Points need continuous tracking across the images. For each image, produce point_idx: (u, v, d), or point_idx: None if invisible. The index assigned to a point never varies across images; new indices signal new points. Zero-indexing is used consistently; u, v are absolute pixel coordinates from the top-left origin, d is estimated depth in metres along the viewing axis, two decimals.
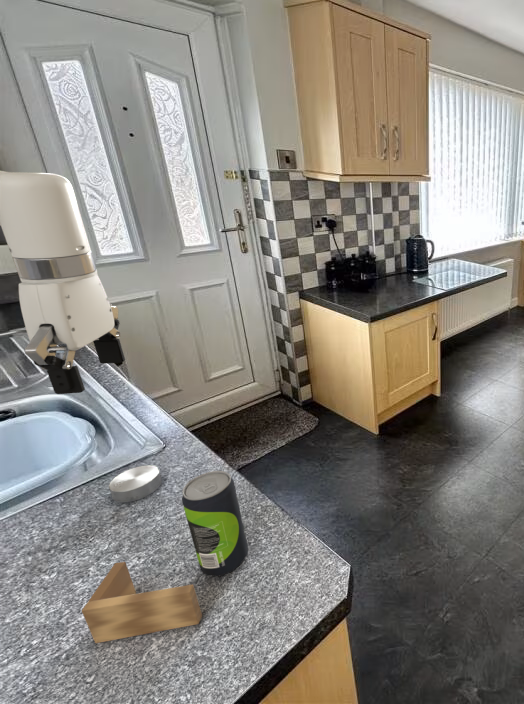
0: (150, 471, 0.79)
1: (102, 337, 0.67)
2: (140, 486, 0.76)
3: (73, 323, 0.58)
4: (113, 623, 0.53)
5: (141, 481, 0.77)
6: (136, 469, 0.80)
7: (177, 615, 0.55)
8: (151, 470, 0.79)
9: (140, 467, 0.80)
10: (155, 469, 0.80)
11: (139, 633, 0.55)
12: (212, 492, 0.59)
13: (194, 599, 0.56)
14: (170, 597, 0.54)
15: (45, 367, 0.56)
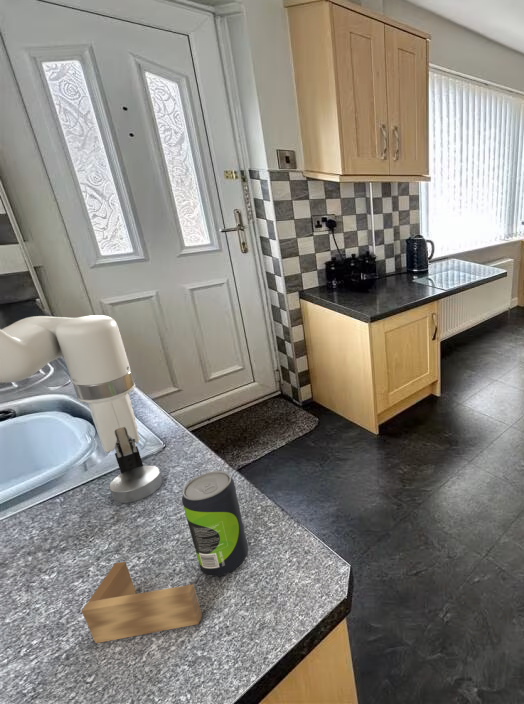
0: (150, 471, 0.79)
1: None
2: (140, 486, 0.76)
3: (135, 422, 0.76)
4: (113, 623, 0.53)
5: (141, 482, 0.76)
6: (137, 469, 0.79)
7: (177, 615, 0.55)
8: (151, 470, 0.79)
9: (140, 467, 0.80)
10: (155, 469, 0.80)
11: (139, 633, 0.55)
12: (212, 492, 0.59)
13: (194, 599, 0.56)
14: (170, 597, 0.54)
15: (124, 454, 0.77)
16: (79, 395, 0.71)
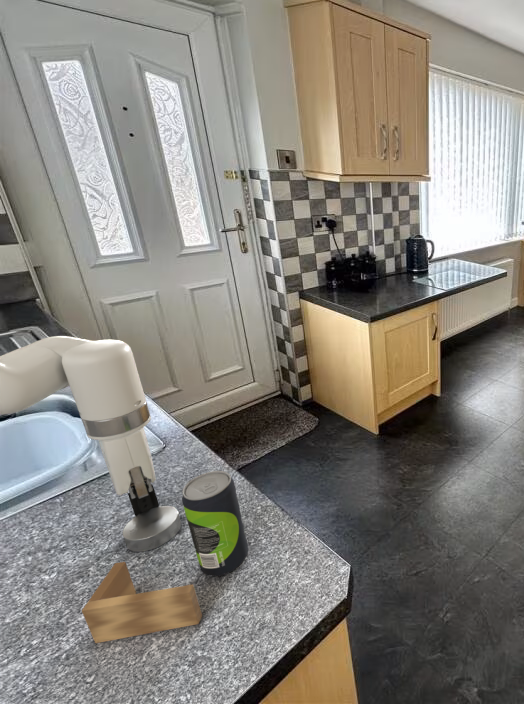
0: (168, 513, 0.70)
1: None
2: (158, 532, 0.67)
3: (151, 459, 0.67)
4: (113, 623, 0.53)
5: (159, 527, 0.68)
6: (152, 510, 0.71)
7: (177, 615, 0.55)
8: (169, 512, 0.70)
9: (157, 508, 0.71)
10: (174, 511, 0.71)
11: (139, 633, 0.55)
12: (212, 492, 0.59)
13: (194, 599, 0.56)
14: (170, 597, 0.54)
15: None
16: (88, 431, 0.62)
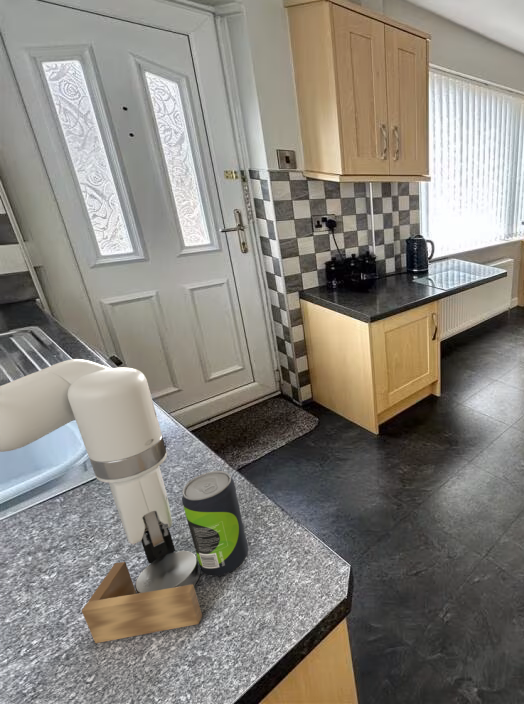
0: (186, 560, 0.62)
1: None
2: (175, 584, 0.59)
3: (168, 502, 0.59)
4: (113, 623, 0.53)
5: (176, 577, 0.60)
6: (168, 557, 0.63)
7: (177, 615, 0.55)
8: (187, 559, 0.63)
9: (173, 554, 0.63)
10: (192, 557, 0.63)
11: (139, 633, 0.55)
12: (212, 492, 0.59)
13: (194, 599, 0.56)
14: (170, 597, 0.54)
15: None
16: (97, 473, 0.55)
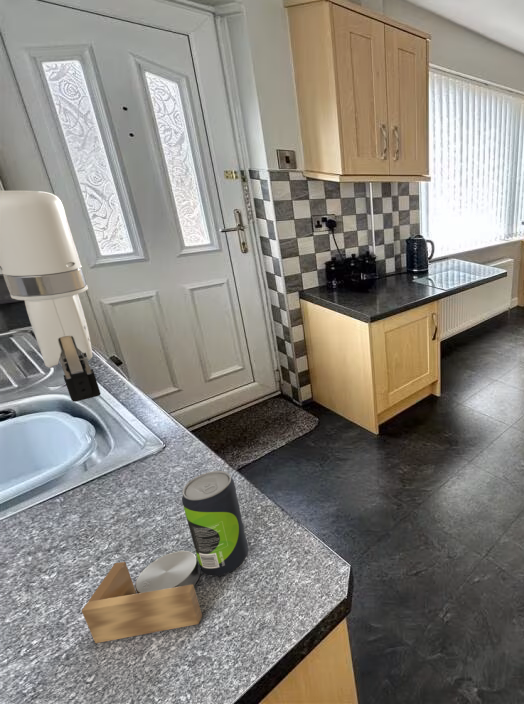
0: (186, 560, 0.62)
1: None
2: (175, 584, 0.59)
3: (87, 333, 0.61)
4: (113, 623, 0.53)
5: (176, 577, 0.60)
6: (168, 557, 0.63)
7: (177, 615, 0.55)
8: (187, 558, 0.63)
9: (173, 554, 0.63)
10: (192, 557, 0.63)
11: (139, 633, 0.55)
12: (212, 492, 0.59)
13: (194, 599, 0.56)
14: (170, 597, 0.54)
15: (73, 374, 0.62)
16: (11, 290, 0.56)
